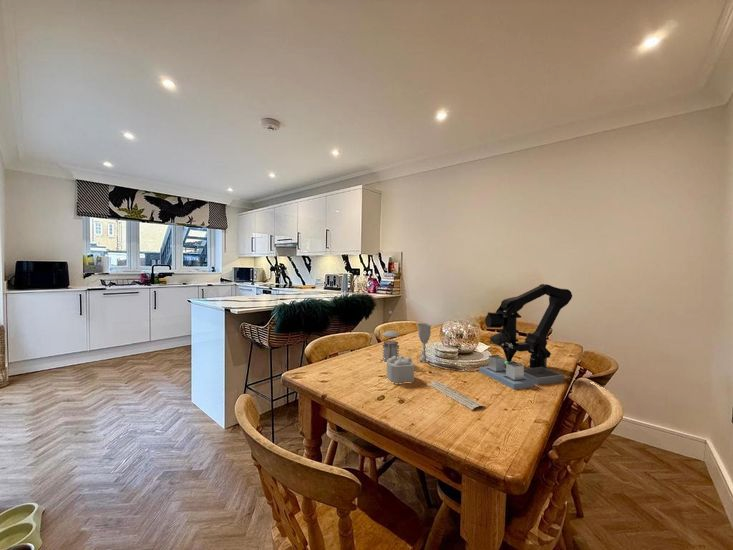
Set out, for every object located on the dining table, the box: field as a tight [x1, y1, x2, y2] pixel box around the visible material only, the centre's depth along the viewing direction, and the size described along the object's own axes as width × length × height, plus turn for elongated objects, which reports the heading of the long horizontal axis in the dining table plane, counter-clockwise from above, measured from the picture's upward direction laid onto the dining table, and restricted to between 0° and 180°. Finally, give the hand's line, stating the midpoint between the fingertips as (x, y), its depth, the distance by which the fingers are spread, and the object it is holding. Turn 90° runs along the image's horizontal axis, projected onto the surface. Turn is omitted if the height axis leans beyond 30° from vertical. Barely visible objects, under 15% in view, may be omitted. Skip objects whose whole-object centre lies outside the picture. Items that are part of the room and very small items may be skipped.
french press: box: [382, 310, 400, 362], centre depth 146 cm, size 10×12×25 cm
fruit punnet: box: [386, 354, 415, 383], centre depth 126 cm, size 10×13×9 cm
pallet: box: [478, 365, 536, 390], centre depth 125 cm, size 10×20×2 cm, turn 17°
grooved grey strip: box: [427, 380, 486, 411], centre depth 110 cm, size 24×7×2 cm, turn 26°
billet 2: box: [506, 361, 525, 382], centre depth 120 cm, size 4×4×8 cm
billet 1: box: [488, 354, 506, 373], centre depth 130 cm, size 4×4×8 cm
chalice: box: [417, 322, 432, 361], centre depth 149 cm, size 7×7×18 cm
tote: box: [524, 367, 565, 386], centre depth 125 cm, size 14×11×3 cm
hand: (508, 361), depth 138 cm, fingers closed
